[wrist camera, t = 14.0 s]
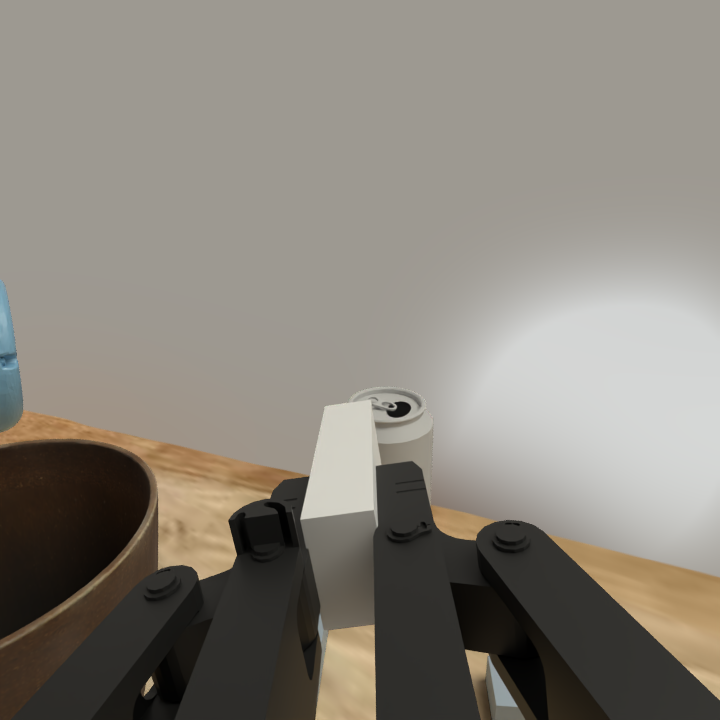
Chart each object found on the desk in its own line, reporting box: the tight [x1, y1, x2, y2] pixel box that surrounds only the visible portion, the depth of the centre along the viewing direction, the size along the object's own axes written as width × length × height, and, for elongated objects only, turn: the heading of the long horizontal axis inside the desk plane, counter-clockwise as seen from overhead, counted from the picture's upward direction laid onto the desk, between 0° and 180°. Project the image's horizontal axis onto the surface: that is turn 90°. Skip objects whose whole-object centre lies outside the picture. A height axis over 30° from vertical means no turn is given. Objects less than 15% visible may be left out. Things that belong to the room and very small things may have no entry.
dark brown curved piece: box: [0, 439, 158, 720], centre depth 24 cm, size 15×15×16 cm
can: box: [347, 387, 434, 505], centre depth 43 cm, size 8×8×12 cm
